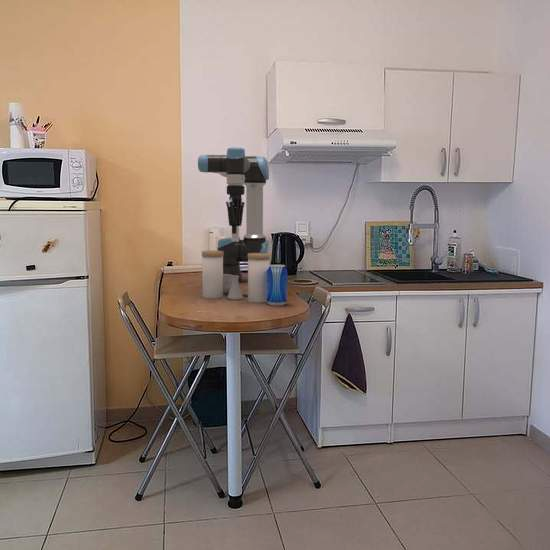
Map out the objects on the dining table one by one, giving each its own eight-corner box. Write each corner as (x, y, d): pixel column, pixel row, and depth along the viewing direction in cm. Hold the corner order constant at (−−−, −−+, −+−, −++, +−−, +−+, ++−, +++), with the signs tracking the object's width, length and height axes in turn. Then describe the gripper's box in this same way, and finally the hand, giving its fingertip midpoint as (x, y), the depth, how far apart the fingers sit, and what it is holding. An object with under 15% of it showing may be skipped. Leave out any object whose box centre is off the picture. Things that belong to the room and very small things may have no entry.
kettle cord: (216, 294, 245) (216, 292, 245) (217, 293, 246) (217, 291, 246) (267, 298, 236) (267, 296, 235) (268, 298, 237) (268, 296, 236)
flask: (229, 300, 230) (230, 277, 228) (224, 297, 236) (224, 275, 235) (245, 299, 233) (246, 276, 231) (240, 297, 239) (240, 274, 238)
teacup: (228, 294, 245) (228, 277, 244) (205, 293, 247) (205, 276, 246) (237, 290, 258) (237, 273, 257) (215, 289, 260) (215, 272, 259)
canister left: (208, 294, 245) (208, 250, 242) (227, 295, 241) (227, 251, 239) (197, 297, 236) (197, 251, 233) (217, 299, 232) (217, 252, 230)
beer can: (266, 302, 227) (267, 264, 225) (286, 302, 227) (287, 264, 225) (265, 305, 219) (266, 266, 217) (286, 306, 218) (287, 266, 216)
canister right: (252, 298, 236) (253, 252, 234) (272, 299, 233) (273, 253, 230) (243, 301, 228) (243, 254, 225) (264, 303, 224) (264, 255, 222)
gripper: (236, 184, 221) (236, 242, 224) (250, 185, 233) (249, 240, 235) (220, 184, 224) (220, 241, 226) (234, 186, 236) (234, 240, 238)
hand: (235, 241), depth 231 cm, fingers closed
